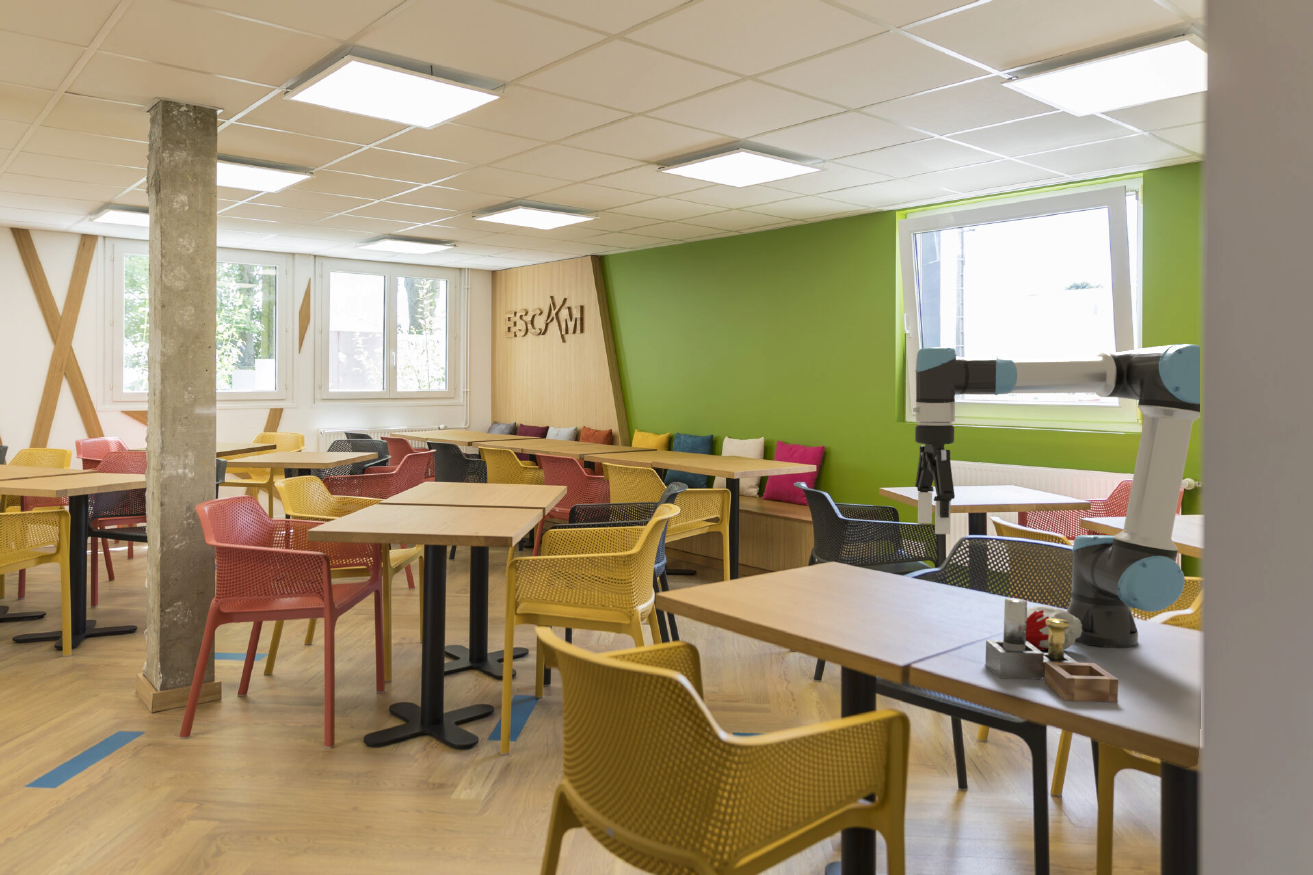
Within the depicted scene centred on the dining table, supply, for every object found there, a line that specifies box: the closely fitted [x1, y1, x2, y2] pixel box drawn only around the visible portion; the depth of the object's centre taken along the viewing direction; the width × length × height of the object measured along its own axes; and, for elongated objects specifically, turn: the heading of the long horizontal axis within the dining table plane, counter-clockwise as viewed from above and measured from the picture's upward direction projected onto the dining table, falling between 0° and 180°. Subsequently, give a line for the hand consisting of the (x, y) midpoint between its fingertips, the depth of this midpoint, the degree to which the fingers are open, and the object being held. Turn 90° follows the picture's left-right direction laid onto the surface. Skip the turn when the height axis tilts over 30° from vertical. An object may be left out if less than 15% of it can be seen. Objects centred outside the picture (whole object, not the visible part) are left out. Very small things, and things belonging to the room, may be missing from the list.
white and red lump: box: [1026, 605, 1082, 651], centre depth 181 cm, size 9×11×15 cm
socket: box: [984, 639, 1079, 680], centre depth 165 cm, size 15×8×5 cm, turn 88°
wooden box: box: [1044, 662, 1119, 703], centre depth 154 cm, size 9×9×4 cm
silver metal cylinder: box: [1002, 598, 1028, 651], centre depth 165 cm, size 4×4×14 cm
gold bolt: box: [1046, 618, 1069, 659], centre depth 165 cm, size 4×4×7 cm
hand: (933, 528), depth 173 cm, fingers open, 13 cm apart
